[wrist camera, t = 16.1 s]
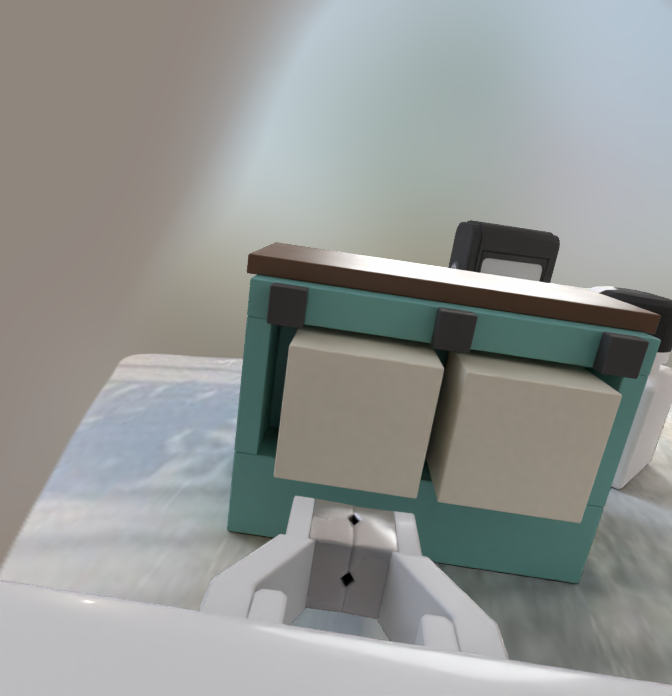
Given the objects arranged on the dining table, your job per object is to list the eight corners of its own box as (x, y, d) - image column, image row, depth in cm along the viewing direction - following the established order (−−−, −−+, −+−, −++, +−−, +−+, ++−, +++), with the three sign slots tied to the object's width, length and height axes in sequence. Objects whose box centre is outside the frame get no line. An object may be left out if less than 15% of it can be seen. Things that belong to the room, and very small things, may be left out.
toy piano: (596, 599, 21) (693, 326, 18) (212, 541, 21) (236, 257, 18) (523, 479, 31) (578, 285, 27) (257, 439, 31) (278, 240, 27)
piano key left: (416, 499, 19) (445, 367, 18) (272, 477, 19) (289, 344, 18) (407, 455, 22) (431, 342, 21) (285, 437, 22) (300, 322, 21)
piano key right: (581, 524, 19) (623, 394, 18) (437, 502, 19) (467, 371, 18) (547, 476, 22) (581, 364, 21) (425, 458, 22) (449, 345, 21)
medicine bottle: (651, 463, 36) (708, 302, 33) (620, 492, 31) (684, 306, 28) (554, 424, 41) (596, 280, 37) (514, 444, 36) (558, 280, 32)
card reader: (440, 387, 45) (476, 221, 41) (422, 372, 49) (453, 218, 45) (525, 391, 48) (567, 234, 44) (502, 376, 52) (539, 230, 47)
